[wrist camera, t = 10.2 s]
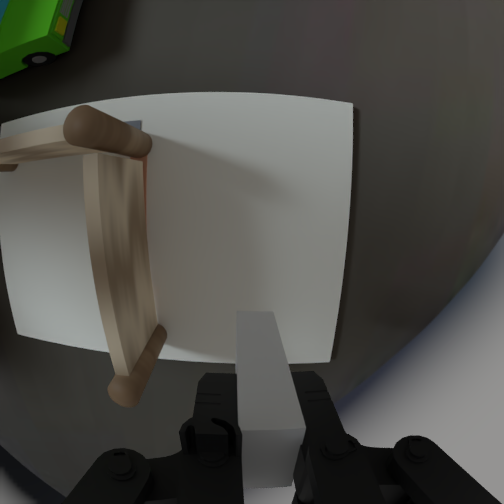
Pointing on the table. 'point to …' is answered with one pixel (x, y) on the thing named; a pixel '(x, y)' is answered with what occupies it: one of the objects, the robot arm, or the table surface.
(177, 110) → the card
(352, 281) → the table surface
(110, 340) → the fence gate
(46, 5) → the toy car
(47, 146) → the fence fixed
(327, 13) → the table surface
